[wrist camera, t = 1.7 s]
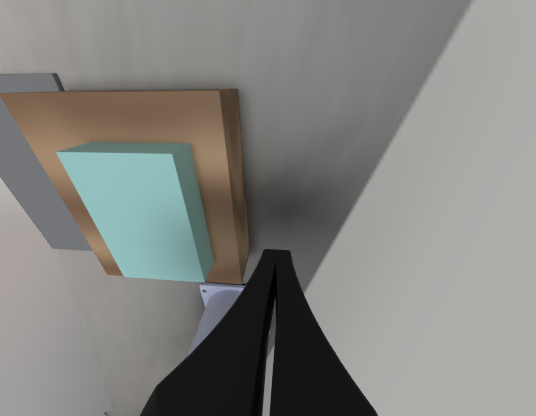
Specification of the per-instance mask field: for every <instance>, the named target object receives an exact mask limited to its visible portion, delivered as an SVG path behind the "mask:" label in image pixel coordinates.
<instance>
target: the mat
mask: <svg viewBox="0 0 536 416" xmlns="http://www.w3.org/2000/svg"><path fill="white" fill-rule="evenodd" d="M47 91H64V90H63V88H62V86H61V83H60V81H59V79H58V77H57V75H56V74H1V75H0V93H16V92H47ZM0 177H1V179H2V180H3V182H4V183H5V184H6V186H7V187H8V188H9V190H10V191H11V192H12V194H13V195H14V197H15V198H16V199H17V201H18V202H19V203H20V205H21V206H22V207H23V209H24V210H25V212H26V213H27V214H28V215H29V217H30V218H31V220H32V221H33V222H34V224H35V225H36V226H37V228H38V229H39V231H40V232H41V233H42V235H43V236H44V237H45V239H46V240H47V242H48V243H49V244H50V246H51V247H52V248H53V249H70V250H86V251H93V250H92V248H91V246H90V245H89V243H88V241H87V240H86V238H85V236H84V235H83V233H82V231H81V230H80V228H79V226H78V225H77V223H76V221H75V220H74V218H73V216H72V215H71V213H70V211H69V210H68V208H67V206H66V205H65V203H64V201H63V200H62V198H61V197H60V195H59V193H58V192H57V190H56V188H55V187H54V185H53V183H52V182H51V180H50V178H49V177H48V175H47V173H46V172H45V170H44V168H43V167H42V165H41V163H40V162H39V160H38V158H37V157H36V155H35V153H34V152H33V150H32V148H31V147H30V145H29V143H28V142H27V140H26V138H25V137H24V135H23V133H22V132H21V130H20V128H19V127H18V125H17V123H16V122H15V120H14V119H13V117H12V115H11V114H10V112H9V110H8V109H7V107H6V105H5V104H4V102H3V100H2V99H1V97H0Z"/></svg>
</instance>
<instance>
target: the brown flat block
mask: <svg viewBox="0 0 536 416" xmlns="http://www.w3.org/2000/svg"><path fill="white" fill-rule="evenodd" d="M0 97H1V99H2V100H3V102H4V104H5V105H6V107H7V109H8V110H9V112H10V114H11V115H12V117H13V119H14V120H15V122H16V123H17V125H18V127H19V128H20V130H21V132H22V133H23V135H24V137H25V138H26V140H27V142H28V143H29V145H30V147H31V148H32V150H33V152H34V153H35V155H36V157H37V158H38V160H39V162H40V163H41V165H42V167H43V168H44V170H45V172H46V173H47V175H48V177H49V178H50V180H51V182H52V183H53V185H54V187H55V188H56V190H57V192H58V193H59V195H60V197H61V198H62V200H63V201H64V203H65V205H66V206H67V208H68V210H69V211H70V213H71V215H72V216H73V218H74V220H75V221H76V223H77V225H78V226H79V228H80V230H81V231H82V233H83V235H84V236H85V238H86V240H87V241H88V243H89V245H90V246H91V248H92V250H93V251H94V253H95V255H96V256H97V258H98V260H99V261H100V263H101V265H102V266H103V268H104V270H105V271H106V273H107V275H117V276H123V274H122V272H121V270H120V269H119V267H118V265H117V263H116V261H115V259H114V258H113V256H112V254H111V252H110V250H109V249H108V247H107V245H106V243H105V241H104V239H103V238H102V236H101V234H100V232H99V230H98V228H97V227H96V225H95V223H94V221H93V219H92V217H91V216H90V214H89V212H88V210H87V208H86V206H85V205H84V203H83V201H82V199H81V197H80V195H79V194H78V192H77V190H76V188H75V186H74V185H73V183H72V181H71V179H70V177H69V175H68V174H67V172H66V170H65V168H64V166H63V164H62V163H61V161H60V159H59V157H58V155H57V153H56V152H57V151H61V150H64V149H68V148H71V147H75V146H78V145H81V144H85V143H88V142H118V143H190V147H191V151H192V156H193V161H194V166H195V171H196V176H197V181H198V186H199V191H200V196H201V201H202V205H203V210H204V215H205V220H206V225H207V230H208V235H209V240H210V245H211V250H212V254H213V259H214V262H213V264H212V267H211V269H210V271H209V274H208V276H207V278H206V281H205V282H215V283H229V284H242V281H243V277H244V273H245V269H246V265H247V261H248V256H249V252H250V247H249V234H248V221H247V208H246V195H245V181H244V168H243V155H242V142H241V129H240V116H239V103H238V89H189V90H98V91H47V92H16V93H0Z"/></svg>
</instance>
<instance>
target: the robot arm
mask: <svg viewBox="0 0 536 416" xmlns="http://www.w3.org/2000/svg"><path fill="white" fill-rule="evenodd" d="M200 291H201V294H202V298H203V301H204V305H205V310H204V313H203V315H202V318H201V321H200V323H199V326H198V328H197V331H196V334H195V336H194V339H193V342H192V344H191V347H190V349H189V352H188V355H187V357H186V358H185V359H184V360H183V361H182V362H181V363H180V364H179V365H178V366H177V367H176V368H175V369H174V370H173V371H172V372H171V373H170V374H169V375H168V376H167V377H165V378H164V379H163V380H162V381H161V382H160V383H159V384H158V385H157V386H156V388H155V389H154V391H153V393H152V394H151V396H150V398H149V400H148V401H147V403H146V405H145V407H144V409H143V410H142V412H141V414H140V416H262V411H263V397H264V384H265V371H266V359H267V347H268V339H269V335H270V327H271V321H272V314H273V308H274V302H275V297H276V334H275V348H274V363H273V376H272V389H271V404H270V416H378V415H377V413H376V411H375V410H374V408H373V407H372V406H371V404H370V403H369V401H368V400H367V399H366V397H365V396H364V395H363V393H362V392H361V390H360V389H359V388H358V386H357V385H356V383H355V382H354V381H353V379H352V378H351V376H350V375H349V373H348V372H347V370H346V369H345V367H344V366H343V364H342V363H341V361H340V360H339V358H338V356H337V355H336V353H335V352H334V350H333V348H332V347H331V345H330V344H329V342H328V341H327V339H326V337H325V335H324V334H323V332H322V330H321V328H320V326H319V325H318V323H317V321H316V319H315V317H314V315H313V313H312V311H311V309H310V307H309V305H308V303H307V301H306V298H305V296H304V294H303V291H302V289H301V286H300V284H299V281H298V278H297V275H296V273H295V269H294V266H293V262H292V257H291V252H290V251H289V250H273V249H265V250H264V251H263V253H262V256H261V258H260V261H259V263H258V265H257V267H256V269H255V271H254V272H253V274H252V276H251V278H250V279H249V281H248V283H247V284H246V286H244V285H230V284H216V283H201V285H200Z"/></svg>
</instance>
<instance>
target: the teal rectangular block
mask: <svg viewBox="0 0 536 416" xmlns="http://www.w3.org/2000/svg"><path fill="white" fill-rule="evenodd" d="M56 153H57V155H58V157H59V159H60V161H61V163H62V164H63V166H64V168H65V170H66V172H67V174H68V175H69V177H70V179H71V181H72V183H73V185H74V186H75V188H76V190H77V192H78V194H79V195H80V197H81V199H82V201H83V203H84V205H85V206H86V208H87V210H88V212H89V214H90V216H91V217H92V219H93V221H94V223H95V225H96V227H97V228H98V230H99V232H100V234H101V236H102V238H103V239H104V241H105V243H106V245H107V247H108V249H109V250H110V252H111V254H112V256H113V258H114V259H115V261H116V263H117V265H118V267H119V269H120V270H121V272H122V274H123V276H124V277H135V278H149V279H163V280H177V281H191V282H205V281H206V278H207V276H208V274H209V271H210V269H211V267H212V264H213V262H214V259H213V254H212V250H211V245H210V240H209V235H208V230H207V225H206V220H205V215H204V210H203V205H202V201H201V196H200V191H199V186H198V181H197V176H196V171H195V166H194V161H193V156H192V151H191V147H190V143H118V142H88V143H85V144H81V145H78V146H75V147H71V148H68V149H64V150H61V151H57V152H56Z"/></svg>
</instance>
